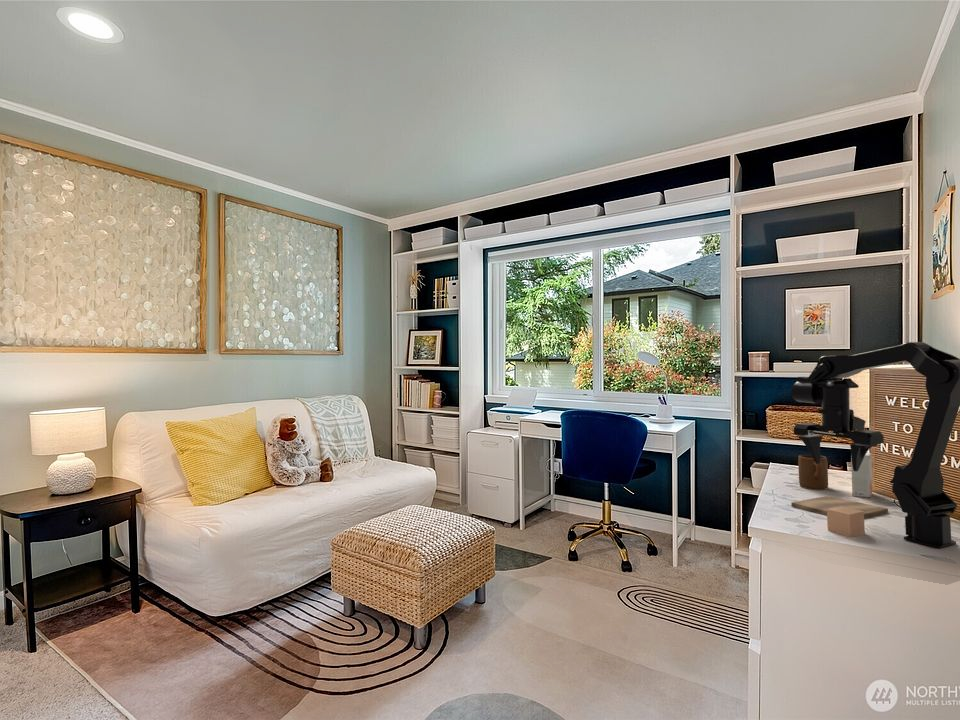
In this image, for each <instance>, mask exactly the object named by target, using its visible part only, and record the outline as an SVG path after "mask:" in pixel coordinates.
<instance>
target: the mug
mask: <svg viewBox="0 0 960 720" xmlns="http://www.w3.org/2000/svg"><path fill="white" fill-rule="evenodd" d="M797 460H798V462H797V465H798V466H797V467H798V468H797V469H798V483H799V486H800V487H801V488H804V489H808V490H818V491H819V490H821V491H822V490H826V489H828V488H829V469H828V468H829V467H828V464H829V463H828V459H827V456H824V455H821V459H820V464H816V463H815V461H814V459H813V457H812V456H811V454H800V455H798V459H797Z"/></svg>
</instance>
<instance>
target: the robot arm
mask: <svg viewBox="0 0 960 720" xmlns="http://www.w3.org/2000/svg"><path fill="white" fill-rule="evenodd" d="M901 363H902V364H903V363H908V364H910V366H912V368H913V369H914V370H915V372H917V373H919V374H921V375H922V376H924V377H925V384H924V386H925V387H924V388H925V390H926V393H927V396H928V403H927V406H926V410H925V412H924V416H923V420H922V423H921V425H920V429H919V432H918V436H917V439H916V442H915V445H914V449H913V453H912V455H911V458H910V461H909V462H908V463H907V464H903V465H896V466H895V468H894V470H893V471H894V472H893V477H892V479H891V480H890V481H889V483H890V484H892V486H891V490H892V493H893V494H894V495H895V497H896V499H897V502H898V504H899V507H900V509H901V511H902V513H904V514H907V515H905V516H904V522H905V523H904V525H905V527H904V528H905V536H903V540H905V541H910V542H912V543H913V542H914V543H917V544H919V545H920V544H921V545H924V546H928V547H932V548H935V549H942V548H946V547H949V546H953V545H957V540H953V539H952V527H951V526H952V525H951V524H952V523H951V514H955V512H956V510H957V508H958V504H957V502H956V501H954V500H953V499H952V498H951V497H950V496H949V495H948V494H947V493H946V492H945V491H944V483H945V482H944V481H945V480H944V478H943V474H942V471H941V464H942V462H943V459H944V457H945V456H944V455H945V453H946V449H947V446H948V445H949V444H948V443H949V441H950V438H951V434H952V431H953V428H954V425H955V422H956V420H957V415H958V413H959V409H960V358H959V357H957V356H954V355H952V354H951V353H948V352H945V351H943V350H940V349H938V348H935V347H933V346H931V345H929V344H928V343H926V342H924V341H914V342H913V341H910V342H909V341H908V342H905V343H902V344H899V345H894V346H893V345H892V346H889V347H884V348H880V349H875V350H870V351H864V352H861V353H856V354H847V355H846V354H845V355H844V354H842V355H823V356H821V357H819V358H818V361H817V363H816V365H815V367H814V368H813V369H812V371H811V373H810V374H809V375H808V376H797V381H796V382H795V383H794V384H793V385H792V388H791V390H790V393H791V396H792V399H793V400H794V401H795V402H798V403H809V404H818V405H819V404H821V408H818V409H817V410H818V414H821V424H820V423H813V422H802V423H801V422H800V423H795V425H793V426H794V427H793V429H792V430H793V435H797V436H798V437H797V438H798V439H801V442H803V443H804V445H805V447H806V448H807V450H808V452H809V455H811V456H812V457H813V459H814V461H815V463H816V464H820V459H821V456H822V455H821V441H822V439H823V438H824V436H829V437H837V438H843V439H850V440H851V441H852V442H853V443H850V444H849V447H850V457H852V466H853V470H854V471H858V470H859V468H860V465H861V463H862V461H863V459H864V456H865V455H866V453H868V451H869V450H870V449H871V448H874V447H877V446H878V445H880V444H884V443H885V442H884V441H885V439H884V437H885V436H884V435H883V433H882V431H879V430H871V429H865V427H866V426H865V425H866V420H864V419H862V418H860V417H858V416H855V412H854V409H852V408H851V407H850V389H858V388H859V387H860V386H859V384H857V383H856V382H855V381H853V380H852V378H850V377H852V376H855V375H858V374H860V373H861V372H863V371H866V370H869V369H874V368H875V369H876V368H880V367H885V366H890V365H891V366H893V365H897V364H901ZM841 379H842V380H841Z"/></svg>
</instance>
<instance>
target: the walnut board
mask: <svg viewBox="0 0 960 720" xmlns="http://www.w3.org/2000/svg"><path fill="white" fill-rule="evenodd" d="M790 504H791V507H792V506H793V508H797V509H800V508H801V509H800V510H805V511H808V512H812V511H813V513H816V512H817V513H816V514H822V515H824V516H827V509H829V508H834V507H839V506H842V507H847V508H851V509H855V510H860V511H864V519H866V518H869V517H874V516H879V515H883V514H887V513H889V508H887V507H882V506H878V505H874V504H873V505H872V504H869V503H863V502H860V501H856V500H854V501H853V500H849V499H845V498H840V497H836V496H832V495H824V496H819V497H815V498H809V499H803V500H799V501H792V502H791V503H790Z"/></svg>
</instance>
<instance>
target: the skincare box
mask: <svg viewBox="0 0 960 720" xmlns="http://www.w3.org/2000/svg"><path fill="white" fill-rule="evenodd" d="M850 457H851V456H850ZM850 462H851V463H850V464H851V468H850V469H851V490H852V492H851V493H852V497H858V498H859V497H860V498H868V497H870V498H871V497H872V495H873V472H872V471H873V470H872V453H871V452H867V453H866V455H865V456H864V459H863V461H862V463H861V465H860V468H859V470H858V471H854V470H853V466H852V457H851V458H850Z"/></svg>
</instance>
